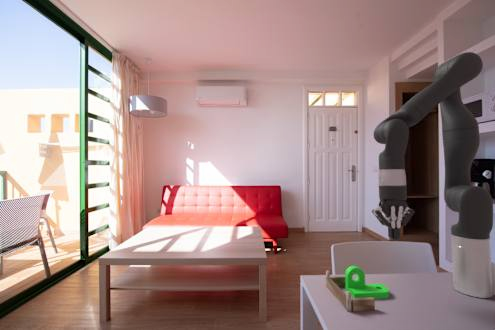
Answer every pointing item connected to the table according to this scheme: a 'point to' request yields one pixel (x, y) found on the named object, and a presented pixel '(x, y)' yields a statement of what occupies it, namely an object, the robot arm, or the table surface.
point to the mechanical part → (363, 285)
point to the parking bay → (348, 295)
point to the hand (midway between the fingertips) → (394, 239)
